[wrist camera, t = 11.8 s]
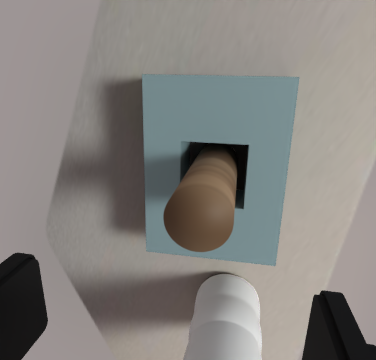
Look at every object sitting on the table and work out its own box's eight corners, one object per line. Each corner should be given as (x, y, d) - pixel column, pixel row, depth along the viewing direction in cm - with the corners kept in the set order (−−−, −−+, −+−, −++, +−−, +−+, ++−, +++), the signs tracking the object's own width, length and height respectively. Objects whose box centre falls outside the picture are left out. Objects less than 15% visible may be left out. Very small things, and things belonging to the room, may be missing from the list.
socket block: (158, 76, 29) (142, 74, 24) (289, 78, 27) (299, 77, 22) (159, 227, 33) (146, 251, 29) (270, 239, 32) (275, 265, 27)
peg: (198, 140, 30) (163, 184, 17) (239, 142, 29) (236, 190, 16) (197, 179, 31) (163, 248, 18) (236, 181, 30) (231, 255, 17)
